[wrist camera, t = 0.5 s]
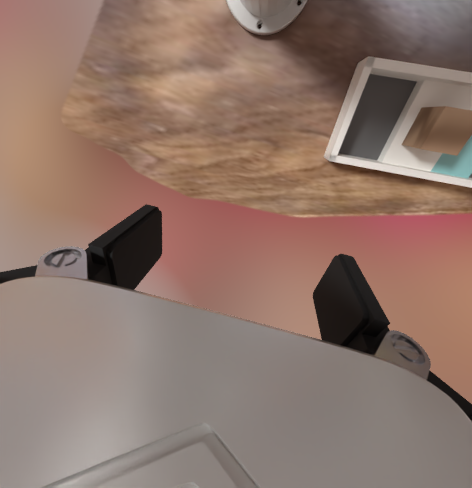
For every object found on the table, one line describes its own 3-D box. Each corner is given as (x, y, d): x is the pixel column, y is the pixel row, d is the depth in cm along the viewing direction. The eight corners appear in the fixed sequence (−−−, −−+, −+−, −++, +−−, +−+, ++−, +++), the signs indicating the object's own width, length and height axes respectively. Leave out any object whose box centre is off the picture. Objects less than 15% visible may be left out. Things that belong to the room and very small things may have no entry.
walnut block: (421, 107, 30) (445, 106, 25) (457, 113, 29) (487, 113, 25) (401, 144, 32) (420, 149, 28) (433, 150, 32) (457, 155, 28)
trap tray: (357, 62, 30) (368, 56, 26) (576, 97, 28) (616, 95, 25) (323, 156, 37) (328, 160, 34) (495, 188, 35) (519, 196, 32)
